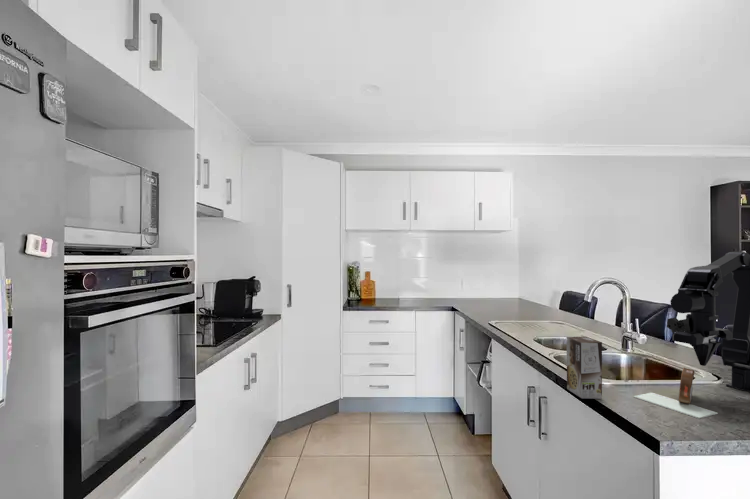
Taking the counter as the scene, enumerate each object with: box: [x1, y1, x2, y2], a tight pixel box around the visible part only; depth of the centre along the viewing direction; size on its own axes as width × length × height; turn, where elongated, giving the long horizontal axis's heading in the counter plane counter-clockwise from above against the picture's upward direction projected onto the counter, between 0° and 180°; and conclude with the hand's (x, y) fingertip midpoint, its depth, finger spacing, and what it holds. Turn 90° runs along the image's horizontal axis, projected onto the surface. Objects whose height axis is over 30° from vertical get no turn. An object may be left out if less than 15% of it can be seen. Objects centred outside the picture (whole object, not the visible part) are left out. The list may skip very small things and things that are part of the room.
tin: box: [678, 367, 695, 404], centre depth 118 cm, size 15×3×8 cm, turn 141°
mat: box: [633, 392, 719, 420], centre depth 115 cm, size 8×17×1 cm, turn 24°
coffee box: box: [565, 336, 603, 400], centre depth 124 cm, size 9×6×16 cm
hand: (702, 365), depth 121 cm, fingers closed
